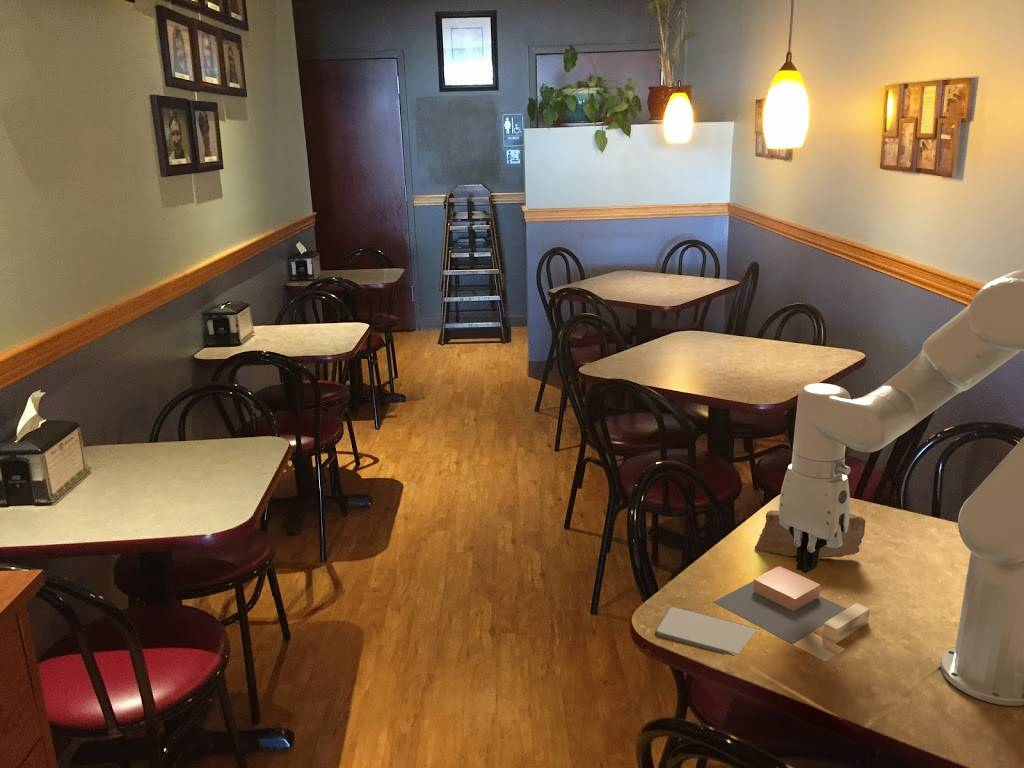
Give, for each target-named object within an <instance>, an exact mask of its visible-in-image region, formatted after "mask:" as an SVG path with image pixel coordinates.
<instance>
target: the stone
mask: <svg viewBox="0 0 1024 768" xmlns="http://www.w3.org/2000/svg"><path fill="white" fill-rule="evenodd" d="M765 514H766V515H765V523H764V527H763V528H762V529H761V532H760V534H759V538H758V541H757V542H756V544H755V546H754V550H755V551H757V552H764V553H768V554H775V555H776V554H777V555H781V556H784V557H796V555H797V546H796V545H795V544H794V538H793V536H792V535H791V533H790V531H789V530H787V529H786V528H784V527H783V526H781V525H780V523H779V520H780V518H779V510H773V509H772V510H771V509H770V510H769V511H767V512H766V513H765ZM865 529H866V520H865V518H864V517H862V516H858V515H855V514H854V513H850V512H849V526H848V531H847V532H846V533H843V534H842V542H843V545H842V546H840V547H838V548H831V547H827V546H824V547H822V548H820V550H819V560H820V559H822V558H824V559H825V558H843V557H845V556H850V555H855V554H857V553H859V552H860V545H862V542H863V538H864V536H865V532H866V530H865Z"/></svg>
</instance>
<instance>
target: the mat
mask: <svg viewBox="0 0 1024 768" xmlns="http://www.w3.org/2000/svg"><path fill="white" fill-rule="evenodd" d="M753 581H754V580H753ZM753 581H750V582H748V583H747V584H745V585H743V586H741V587H739V588H737V589H735V590H733V591H731V592H729V593H728V594H725V595H724V596H722V597H720V598H718V599H716V600H714V601H713V603H714V604H716V605H718V606H720V607H722V608H723V609H726V610H727V611H729V612H731V613H733V614H734V615H736V616H738V617H741V618H742V619H744V620H746V621H748V622H750V623H752V624H753V625H755V626H757V627H759V628H761V629H763V630H764V631H767V632H769V633H770V634H772V635H774V636H776V637H777V638H780V639H782V640H783V641H785V642H787V643H789V644H792V645H793V644H795V643H796V642H798V641H800V640H801V639H803V638H805V637H806V636H808V635H809V634H811V633H813V632H814V631H816V630H817V629H819V628H820V627H823V624H824V623H825V622H826V621H828V620H829V619H831V618H833V617H834V616H836V615H838V614H839V613H841V612H843V611H844V610H846V609H847V608H846V607H844V606H843V605H839V604H838V603H835V602H834V601H831V600H828V599H827V598H824V597H823V596H820V595H819V596H818V598H816V599H814V600H813V601H811V602H809V603H807V604H806V605H804V606H802V607H801V608H799V609H797V610H795V611H794V612H793V611H791V610H789V609H787V608H785V607H783V606H781V605H779V604H777V603H775V602H773V601H771V600H769V599H767V598H765V597H763V596H761V595H759V594H757V593H755V592H754V591H755V590H753Z"/></svg>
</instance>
